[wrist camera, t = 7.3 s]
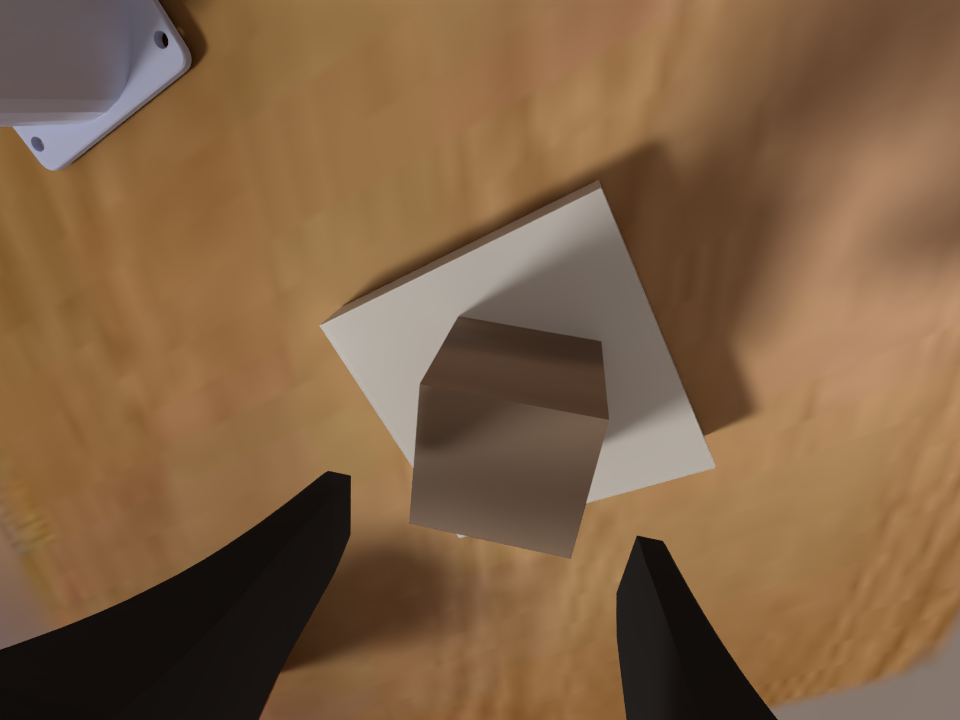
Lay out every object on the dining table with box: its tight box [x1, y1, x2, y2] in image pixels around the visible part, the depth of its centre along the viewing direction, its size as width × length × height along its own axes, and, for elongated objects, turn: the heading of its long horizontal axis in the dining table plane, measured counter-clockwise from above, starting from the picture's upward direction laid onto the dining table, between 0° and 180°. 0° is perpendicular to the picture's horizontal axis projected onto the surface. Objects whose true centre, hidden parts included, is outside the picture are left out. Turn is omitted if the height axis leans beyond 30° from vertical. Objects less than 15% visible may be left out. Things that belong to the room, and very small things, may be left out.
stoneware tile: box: [319, 180, 716, 538], centre depth 20 cm, size 11×11×2 cm
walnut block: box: [409, 316, 609, 559], centre depth 17 cm, size 5×5×5 cm
